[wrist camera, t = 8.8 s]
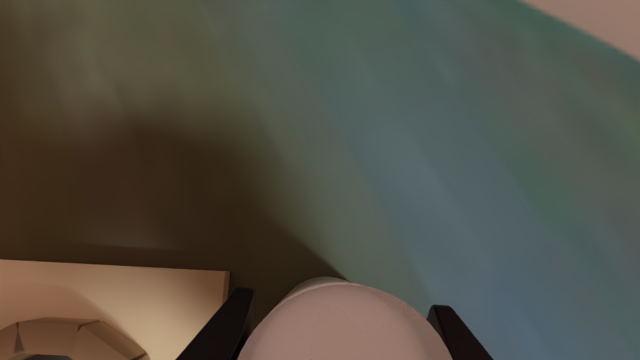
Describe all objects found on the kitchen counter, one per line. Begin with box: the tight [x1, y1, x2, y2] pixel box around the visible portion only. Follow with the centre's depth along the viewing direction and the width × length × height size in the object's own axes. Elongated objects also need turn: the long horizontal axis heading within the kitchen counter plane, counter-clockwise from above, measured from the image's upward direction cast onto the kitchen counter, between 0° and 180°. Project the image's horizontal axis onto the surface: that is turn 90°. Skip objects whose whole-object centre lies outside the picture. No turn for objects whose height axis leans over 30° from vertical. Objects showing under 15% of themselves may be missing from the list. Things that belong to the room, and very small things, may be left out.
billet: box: [237, 276, 452, 360], centre depth 12 cm, size 4×4×10 cm
